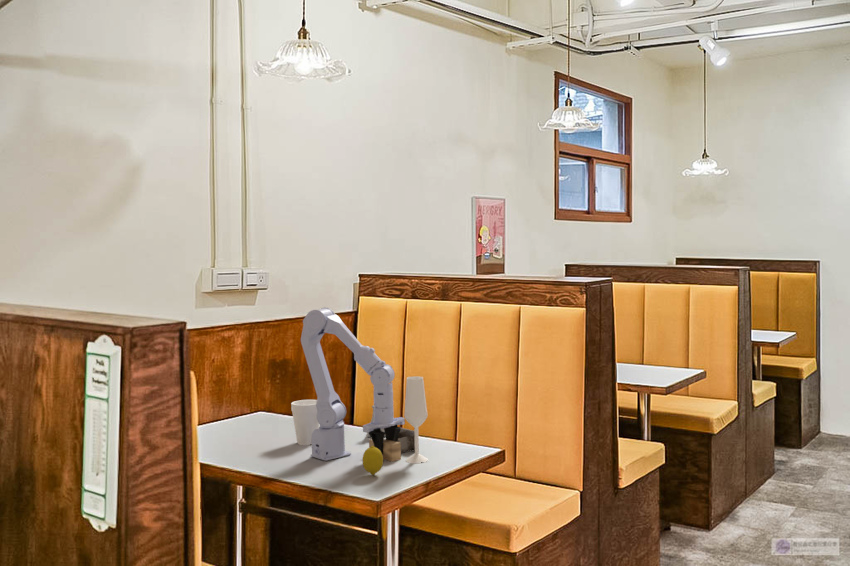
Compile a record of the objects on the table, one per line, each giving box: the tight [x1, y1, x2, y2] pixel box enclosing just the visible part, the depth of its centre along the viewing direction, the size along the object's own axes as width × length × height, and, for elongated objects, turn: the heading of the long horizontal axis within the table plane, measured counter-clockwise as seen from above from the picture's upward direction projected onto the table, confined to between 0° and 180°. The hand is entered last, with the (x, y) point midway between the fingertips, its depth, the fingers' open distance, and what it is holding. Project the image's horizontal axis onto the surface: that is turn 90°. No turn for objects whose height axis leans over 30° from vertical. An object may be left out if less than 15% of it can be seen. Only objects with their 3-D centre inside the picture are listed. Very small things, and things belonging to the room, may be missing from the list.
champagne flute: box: [403, 375, 429, 464], centre depth 224 cm, size 7×7×24 cm
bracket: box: [396, 427, 415, 454], centre depth 237 cm, size 6×10×6 cm, turn 43°
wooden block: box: [368, 438, 402, 462], centre depth 229 cm, size 10×4×5 cm, turn 45°
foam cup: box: [290, 399, 320, 446], centre depth 249 cm, size 10×9×13 cm
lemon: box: [362, 446, 384, 476], centre depth 211 cm, size 6×6×8 cm
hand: (384, 452), depth 229 cm, fingers closed on wooden block, 4 cm apart
